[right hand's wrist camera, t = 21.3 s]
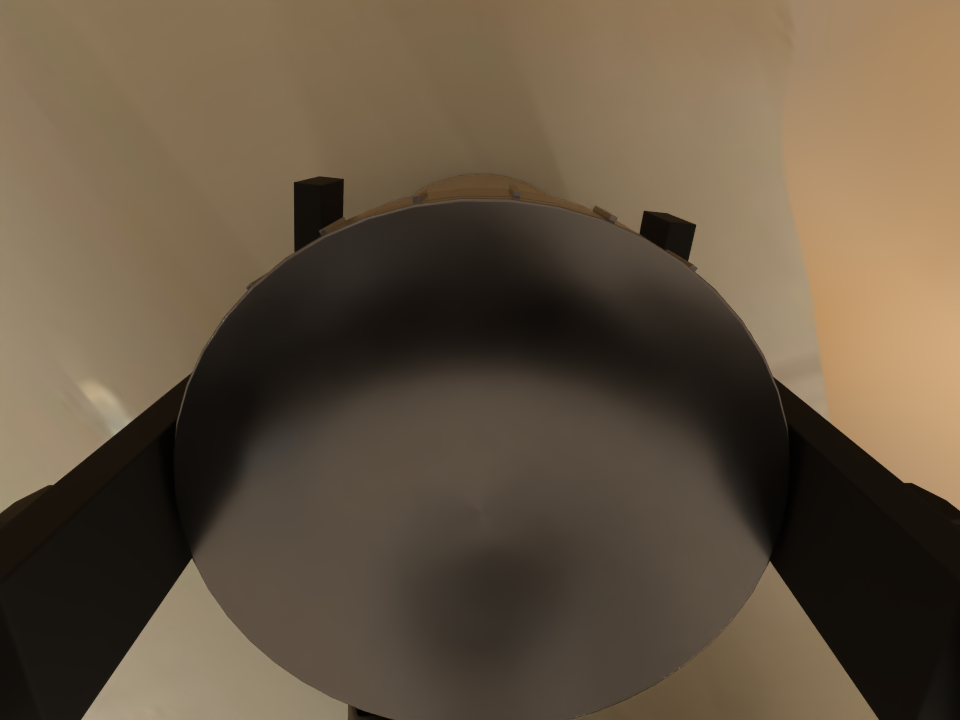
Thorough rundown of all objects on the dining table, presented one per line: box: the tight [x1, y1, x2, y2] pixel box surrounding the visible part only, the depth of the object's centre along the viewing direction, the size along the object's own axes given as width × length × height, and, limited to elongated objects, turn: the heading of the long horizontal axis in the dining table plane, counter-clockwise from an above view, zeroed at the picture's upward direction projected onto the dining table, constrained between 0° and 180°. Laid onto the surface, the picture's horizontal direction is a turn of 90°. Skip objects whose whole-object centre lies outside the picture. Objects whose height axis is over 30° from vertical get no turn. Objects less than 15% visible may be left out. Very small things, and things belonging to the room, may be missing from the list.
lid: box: [173, 184, 791, 720], centre depth 11 cm, size 11×11×2 cm
